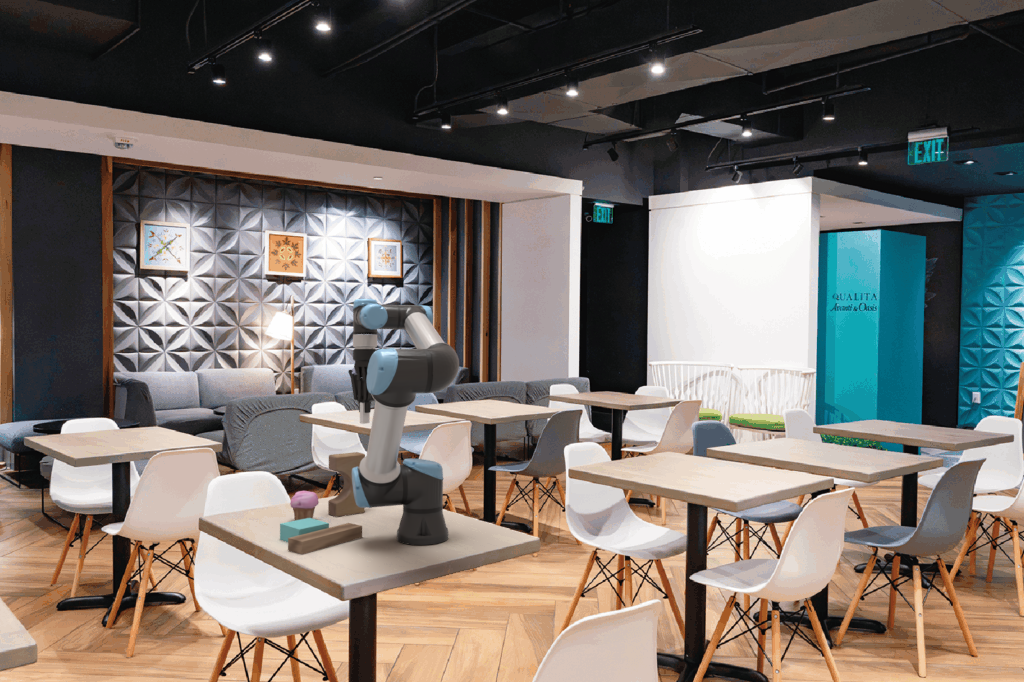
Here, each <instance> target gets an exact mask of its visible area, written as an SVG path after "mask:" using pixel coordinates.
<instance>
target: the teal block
mask: <svg viewBox="0 0 1024 682" xmlns="http://www.w3.org/2000/svg"><path fill="white" fill-rule="evenodd" d="M326 528H330V522H326V521H323V520H319V519H315V518H313V519H312V518H306V519H301V520H296V521H295V520H291V521H287V522H282V523H281V522H280V523H279V540H280V541H282V540H283V541H282V542H285V541H286V543H288V538H291V537H295V536H298V535H302V534H306V533H310V532H314V531H318V530H322V529H326Z"/></svg>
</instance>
